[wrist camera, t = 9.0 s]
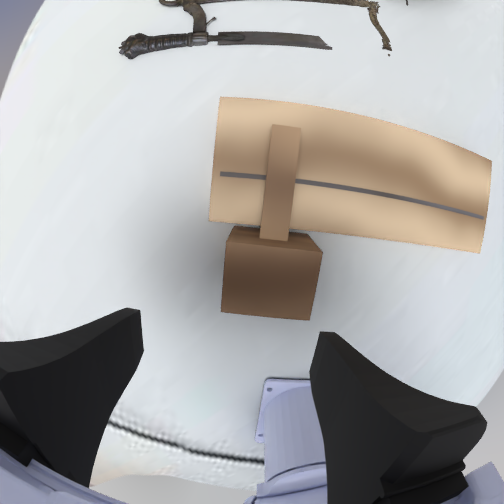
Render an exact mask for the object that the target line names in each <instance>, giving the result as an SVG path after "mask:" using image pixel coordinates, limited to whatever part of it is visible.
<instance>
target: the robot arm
mask: <svg viewBox="0 0 504 504" xmlns="http://www.w3.org/2000/svg"><path fill="white" fill-rule="evenodd" d="M143 352H144V348H143V338H142V327H141V314H140V310H137V309H131V308H124V309H121V310H119V311H116V312H114V313H111V314H109V315H107V316H104V317H102V318H100V319H97V320H95V321H93V322H90V323H88V324H85V325H83V326H80V327H77V328H75V329H72V330H69V331H66V332H63V333H60V334H56V335H52V336H48V337H44V338H38V339H32V340H26V341H15V342H0V504H128V503H125V502H122V501H119V500H116V499H114V498H111V497H108V496H105V495H103V494H101V493H98V492H96V491H94V490H91V489H89V484H90V479H91V474H92V469H93V465H94V462H95V458H96V454H97V451H98V448H99V445H100V442H101V439H102V436H103V433H104V430H105V428H106V425H107V423H108V420H109V418H110V415H111V413H112V411H113V409H114V407H115V405H116V404H117V402H118V400H119V399H120V397H121V395H122V393H123V392H124V390H125V388H126V387H127V385H128V383H129V382H130V380H131V378H132V376H133V375H134V373H135V371H136V369H137V367H138V365H139V362H140V360H141V357H142V355H143ZM309 372H310V380H282V379H268V380H266V381H265V383H264V389H263V395H262V401H261V406H260V412H259V418H258V423H257V429H256V434H255V441H256V442H258V443H265V483H261V484H257V495H256V496H250V497H249V498H247V499H246V500H245V502H244V504H504V482H503V480H502V478H501V476H500V475H499V473H498V471H497V469H496V468H495V466H494V464H493V463H492V462H489V463H487V464H485V465H483V466H482V467H480V468H478V469H476V470H474V471H472V472H470V473H469V474H468V475H467V476H465V477H464V476H463V473H462V472H461V471H463V470H464V469H465V464H464V462H463V459H464V458H465V457H466V456H467V454H468V453H469V452H470V451H471V450H472V449H473V448H474V446H475V445H476V444H477V443H478V442H479V440H480V439H481V437H482V436H483V434H484V432H485V430H486V426H487V422H486V420H485V418H484V417H483V416H482V415H481V413H480V411H479V410H478V409H477V408H476V407H475V406H470V405H465V404H460V403H455V402H451V401H447V400H444V399H441V398H437V397H434V396H432V395H429V394H426V393H424V392H422V391H419V390H417V389H415V388H413V387H411V386H409V385H407V384H405V383H403V382H401V381H399V380H398V379H396V378H394V377H392V376H391V375H389V374H388V373H386V372H385V371H383V370H382V369H380V368H379V367H377V366H376V365H375V364H373V363H372V362H371V361H369V360H368V359H367V358H366V357H364V356H363V355H362V354H361V353H359V352H358V351H357V350H356V349H355V348H353V347H352V346H351V345H350V344H349V343H348V342H346V341H345V340H344V339H343V338H342V337H340V336H339V335H338V334H336V333H335V332H320V334H319V338H318V342H317V346H316V349H315V353H314V357H313V360H312V364H311V368H310V371H309ZM268 388H271V389H268Z"/></svg>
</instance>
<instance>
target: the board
mask: <svg viewBox="0 0 504 504" xmlns="http://www.w3.org/2000/svg"><path fill="white" fill-rule="evenodd" d="M272 124H276V125H284V126H291V127H298V128H301V134H300V144H299V153H298V162H297V171H296V179H295V188H294V196H293V204H292V212H291V219H290V227H289V229H298V230H308V231H317V232H326V233H334V234H343V235H351V236H360V237H368V238H376V239H383V240H391V241H398V242H406V243H413V244H420V245H427V246H434V247H441V248H448V249H454V250H461V251H467V252H473V253H480V251H481V246H482V241H483V236H484V230H485V224H486V218H487V211H488V203H489V194H490V183H491V167H492V161H491V160H489V159H487V158H484V157H482V156H480V155H478V154H476V153H473V152H471V151H469V150H467V149H464V148H462V147H459V146H457V145H455V144H452V143H450V142H447V141H444V140H442V139H439V138H436V137H434V136H431V135H428V134H425V133H422V132H419V131H416V130H413V129H410V128H407V127H403V126H400V125H397V124H393V123H390V122H386V121H382V120H379V119H375V118H371V117H367V116H362V115H358V114H354V113H349V112H344V111H339V110H334V109H329V108H324V107H318V106H312V105H305V104H298V103H291V102H283V101H274V100H264V99H251V98H235V97H220V102H219V111H218V120H217V129H216V139H215V149H214V160H213V171H212V183H211V196H210V210H209V221H214V222H226V223H237V224H248V225H259V226H260V225H261V217H262V208H263V199H264V190H265V181H266V173H267V164H268V155H269V146H270V137H271V128H272Z"/></svg>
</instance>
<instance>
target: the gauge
mask: <svg viewBox="0 0 504 504" xmlns="http://www.w3.org/2000/svg"><path fill="white" fill-rule="evenodd" d="M300 134H301V128H298V127H291V126H284V125H276V124H272V128H271V137H270V146H269V155H268V164H267V173H266V181H265V190H264V199H263V208H262V217H261V225H260V228H253V227H243V226H234V227H233V229H232V231H231V233H230V235H229V237H228V239H227V241H226V250H225V262H224V274H223V287H222V300H221V312H225V313H234V314H243V315H252V316H262V317H272V318H283V319H296V320H310V316H311V311H312V306H313V301H314V297H315V292H316V286H317V281H318V276H319V271H320V265H321V260H322V254H323V252H322V251H321V250H320V248H319V247H318V246H317V245H316V244H315V243H314V241H313V240H312V239H311V238H310V237H309V235H308V234H304V233H296V232H289V227H290V219H291V212H292V204H293V196H294V188H295V179H296V171H297V162H298V153H299V144H300Z"/></svg>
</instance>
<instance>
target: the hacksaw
mask: <svg viewBox="0 0 504 504" xmlns="http://www.w3.org/2000/svg"><path fill="white" fill-rule="evenodd" d="M219 1H231V0H175V1H165V0H159V2H160V3H161V4H164V5H177V6H179V5H182V6H183V9H184V11H188V12H189V13H190V15H192V16H193V19H194V25H193V33H192V32H191V33H188V34H186V33H185V34H169V35H159V36H146V35H144V34H142V33H138V34H136V35H131V36H129V37H128V38H127V39H126V41H123V42H122V44H121V45H122V46H121V47H119V49H121V48H122V49H121V50H120V52H119V53H120V54H122V53H123V52H124V50H125V56H126V57H127V58H128V59H133V58H135V57H136V56H137V55H140V54H145V53H148V52H153V51H158V50H164V49H169V48H176V47H185V46H190V47H191V46H193V45H195V46H198V45H207V44H208V42H209V41H218V45H219V44H220V45H221V44H223V45H224V44H226V45H227V44H271V45H272V44H273V45H275V44H276V45H288V46H290V45H291V46H300V47H309V48H310V47H311V48H317V49H318V48H319V49H325V50H326V49H327V50H329V49H330V50H332V47H329V46H326V45H327V44H326V43H325V42H324V41H323V40H322V39H321V38H320V37H319V36H312V35H303V34H293V33H279V32H218V35H208V32H206V25H207V24H208V23H209V22H210V21H211V20H213V19H216V18H215V17H214V18H212V19H211V20H210V21H209V22H207V23H206V15H205V13H204V11H203V9H202V7H201V6H200V5H199V4H201V3H208V2H219ZM234 1H235V0H234ZM290 1H307V2H320V3H331V4H345V5H351V6H360V7H369V8H367V9H368V10H369V16H370V20H371V22H372V24H373V25H374V26H375V28H376V29H377V30H378V31H379V33H380V35H381V36H382V38H383V39H382V42H383V44H384V45H383V48H382V49H386V50H390V51H392V49H391V47H389V46H391V45H390V44H389V42H390V40H389V38H388V37H387V35H386V34H385V32H384V30H383V29H382V27H381V26H380V24H379V22H378V20H377V15H376V13H378V8H379V7H380V6H377V4H378V2H375V3H374V2H373V1H372V2H371V1H370V2H369V1H368V0H367V1H366V0H290ZM406 4H407V5H408V1H407V0H406ZM376 6H377V7H376ZM376 8H377V9H376ZM378 14H379V13H378ZM388 56H390V54H388Z"/></svg>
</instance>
